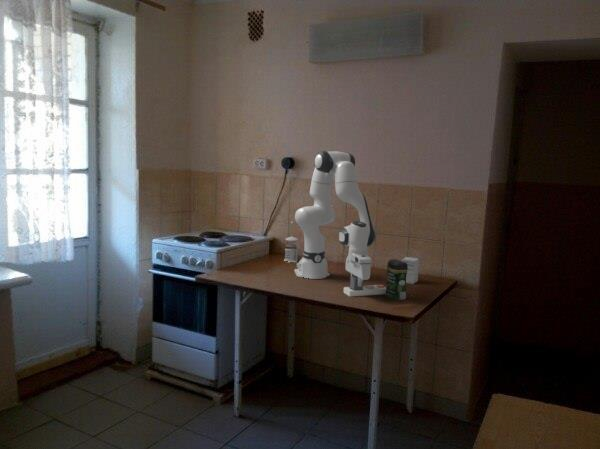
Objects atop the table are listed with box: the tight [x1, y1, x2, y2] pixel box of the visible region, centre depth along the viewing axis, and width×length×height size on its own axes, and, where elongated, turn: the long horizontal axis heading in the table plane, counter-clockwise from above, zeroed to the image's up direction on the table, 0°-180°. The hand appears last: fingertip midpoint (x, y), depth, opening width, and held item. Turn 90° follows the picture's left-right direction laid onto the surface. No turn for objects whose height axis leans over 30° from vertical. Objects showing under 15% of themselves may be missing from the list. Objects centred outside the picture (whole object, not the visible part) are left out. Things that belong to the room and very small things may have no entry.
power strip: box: [343, 284, 387, 297], centre depth 234 cm, size 7×20×4 cm, turn 109°
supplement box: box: [401, 256, 420, 285], centre depth 262 cm, size 7×7×13 cm
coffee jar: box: [385, 258, 408, 301], centre depth 229 cm, size 10×8×19 cm
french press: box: [283, 221, 300, 263], centre depth 303 cm, size 10×12×25 cm
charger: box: [349, 275, 364, 291], centre depth 232 cm, size 4×4×8 cm
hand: (356, 284), depth 232 cm, fingers closed on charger, 4 cm apart
